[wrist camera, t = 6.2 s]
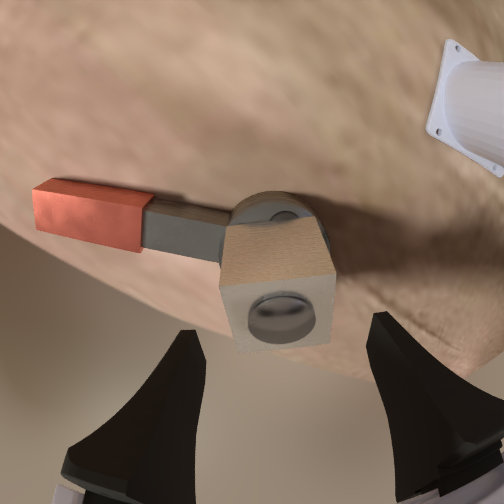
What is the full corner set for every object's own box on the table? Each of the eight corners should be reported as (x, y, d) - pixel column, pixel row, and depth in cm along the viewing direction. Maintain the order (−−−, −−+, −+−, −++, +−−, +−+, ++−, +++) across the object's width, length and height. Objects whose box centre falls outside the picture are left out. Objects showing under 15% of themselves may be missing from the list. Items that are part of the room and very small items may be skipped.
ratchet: (335, 205, 19) (358, 238, 14) (304, 287, 22) (314, 331, 18) (51, 154, 16) (9, 173, 12) (55, 236, 20) (23, 267, 16)
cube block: (314, 216, 16) (338, 278, 12) (315, 282, 19) (330, 347, 14) (226, 226, 16) (218, 291, 12) (240, 291, 19) (238, 357, 15)
